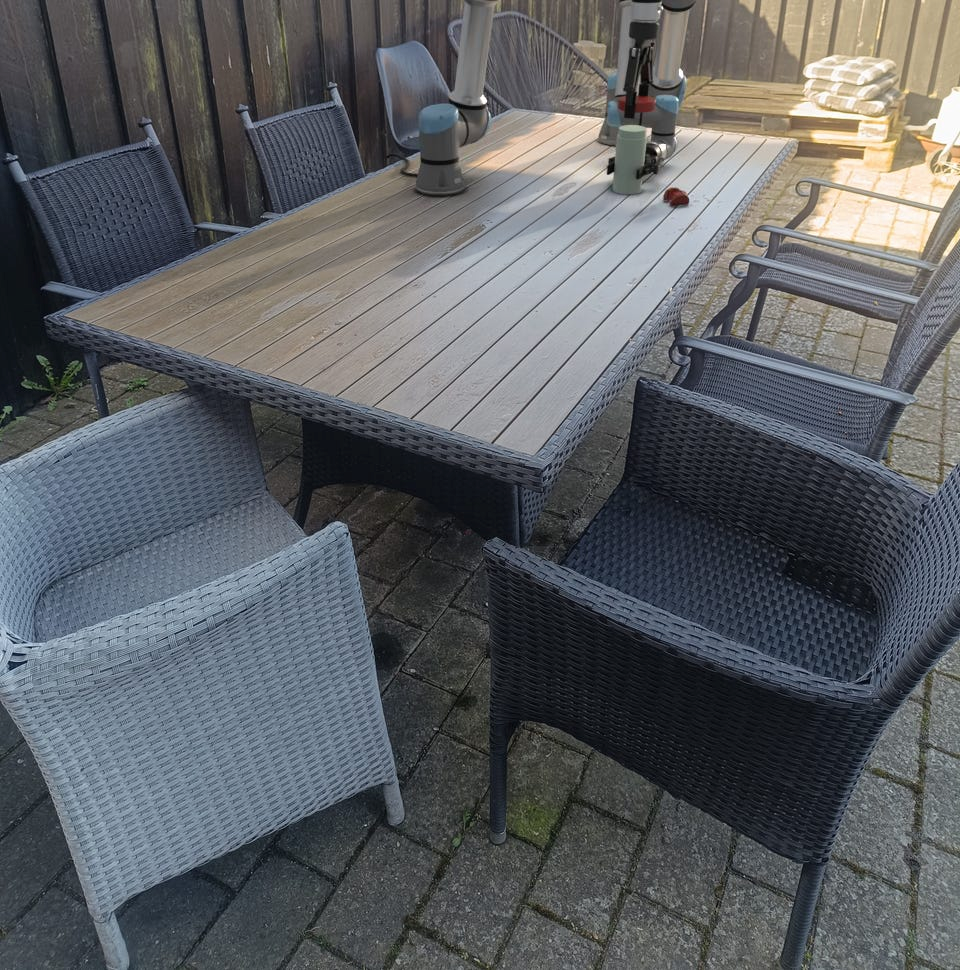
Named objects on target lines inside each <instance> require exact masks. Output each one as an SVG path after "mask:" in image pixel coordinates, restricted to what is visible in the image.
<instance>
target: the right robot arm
mask: <svg viewBox="0 0 960 970" xmlns="http://www.w3.org/2000/svg"><path fill="white" fill-rule="evenodd" d="M661 2H662V3H661V7H663V10H662V11H661V13H660V22H659V33H658V37H657V45H656V52H655V58H654V59H655V60H654V65H653V84H649V85H650V87H649V96H648V97H652V98H655V99H656V104H655V110H654V111H651V112H645V113H635V118H634V119H630V118H624V113H625V111H621V110H619V109H618V100H619V98H620V97H623V96H626V92H625V91H623V88H624V84H625V78H626V72H627V66H628V60H629V49H630V48H633V47H634V44H635V39H632V38H630V37H629V27H630V23H631V21H632V19H631V18H630V14H631V3H632V0H619V2H618V3H619V7H620V9H621V17H620V18H621V19H620V20H621V21H620V30H619V31H620V32H619V41H618V53H617V54H618V55H617V65H616V66H617V67H616V71H615V72H613V73H611V74H610V75H609V77H608V80H607V87H606V90H607V93H606V102H605V114H604V120H603V122H602V125H601V127H600V129H599V132H598V135H597V141H598V142H599V143H601V144H603V145H607V146H614V147H616V143H617V135H618V133H619V127H621V126H624V125H638V126H643V127H645V128H647V129H651V131H650V140H649V141H647V142H646V151H645V160H644V166H642V167H641V168H639V169H638V170H637V176H636V179H638V180H639V179H640V178H642V177H645V176H647V175H651V174H652V173H653V175H658V174H659V173H660V170H661V169H662V168H664V166H665V161H666V160H668V159H670V158H671V157H673V155H674V154H675V153H676V151H677V149H678V140H677V138H676V129H677V128H676V127H677V121H678V114H679V110H680V109H681V107H682V104H683V101H684V98H685V92H686V88H687V77H686V76H685V75H684V73H683V70H682V69H681V63H682V59H683V52H684V46H685V40H686V33H687V29H688V22H689V17H690V11H691V10H692V9H693V8H694V7H695V6H696V3H697V0H662V1H661ZM639 84H642V83H641V78H640V76H639V80H638V84H637V88H636V92H637V95H638V92H639ZM630 86H631V85H630ZM607 160H608V161H607V166H606V167H607V168H606V175H607V176H610V175H611V174H614V165H615V156H612V157H609V158H608V159H607ZM642 179H643V178H642Z"/></svg>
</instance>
